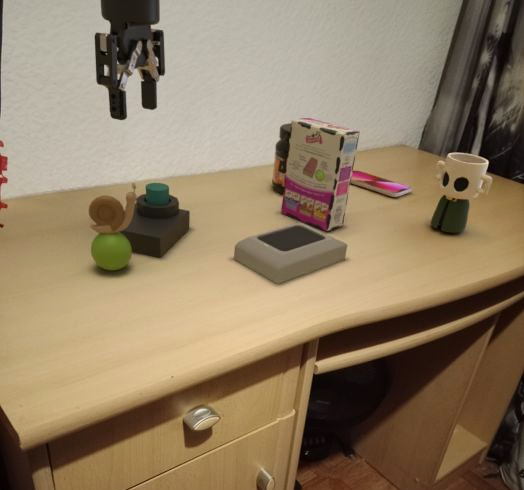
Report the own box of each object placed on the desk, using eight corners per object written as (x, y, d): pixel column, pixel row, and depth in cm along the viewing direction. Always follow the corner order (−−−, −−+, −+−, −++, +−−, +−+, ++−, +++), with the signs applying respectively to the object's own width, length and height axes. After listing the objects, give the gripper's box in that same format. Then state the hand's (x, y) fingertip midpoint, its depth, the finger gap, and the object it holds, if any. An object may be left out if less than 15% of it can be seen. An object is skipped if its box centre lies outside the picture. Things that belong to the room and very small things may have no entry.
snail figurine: (141, 275, 75) (138, 190, 68) (93, 278, 73) (85, 191, 66) (137, 258, 79) (134, 176, 72) (91, 260, 78) (83, 176, 71)
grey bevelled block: (348, 237, 84) (280, 260, 75) (344, 259, 86) (277, 284, 77) (304, 217, 89) (235, 236, 80) (301, 237, 91) (233, 259, 82)
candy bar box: (344, 226, 97) (362, 130, 88) (327, 232, 94) (344, 134, 85) (296, 207, 103) (308, 115, 94) (279, 212, 100) (290, 118, 91)
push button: (151, 196, 88) (151, 181, 86) (172, 200, 87) (172, 185, 86) (142, 203, 85) (141, 187, 83) (163, 207, 84) (163, 191, 83)
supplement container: (260, 185, 111) (266, 124, 105) (297, 179, 117) (304, 120, 111) (295, 202, 105) (303, 138, 98) (332, 194, 111) (342, 133, 104)
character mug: (411, 222, 102) (429, 152, 95) (432, 215, 106) (451, 147, 99) (462, 243, 96) (486, 169, 88) (482, 235, 100) (506, 164, 93)
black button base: (141, 218, 92) (139, 188, 89) (191, 227, 91) (191, 198, 88) (104, 246, 82) (102, 214, 79) (160, 257, 80) (160, 226, 77)
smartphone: (356, 169, 124) (413, 187, 116) (355, 174, 125) (412, 192, 117) (337, 175, 119) (395, 194, 111) (336, 179, 120) (394, 198, 112)
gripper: (132, -23, 76) (137, 102, 85) (70, -27, 64) (83, 118, 74) (181, -17, 74) (180, 110, 83) (125, -20, 63) (131, 127, 72)
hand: (134, 113), depth 78 cm, fingers open, 8 cm apart
